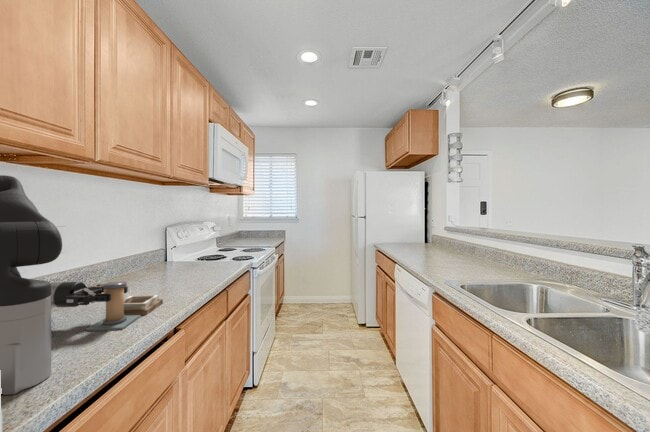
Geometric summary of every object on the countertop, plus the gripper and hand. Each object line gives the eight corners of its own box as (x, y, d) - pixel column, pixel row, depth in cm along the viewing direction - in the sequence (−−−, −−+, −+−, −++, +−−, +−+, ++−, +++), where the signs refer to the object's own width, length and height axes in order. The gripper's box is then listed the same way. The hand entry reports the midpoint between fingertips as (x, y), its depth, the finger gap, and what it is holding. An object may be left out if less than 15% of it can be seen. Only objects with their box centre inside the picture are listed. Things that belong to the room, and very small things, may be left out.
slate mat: (122, 329, 84) (123, 327, 84) (86, 330, 82) (86, 328, 82) (140, 316, 94) (140, 315, 94) (108, 317, 92) (108, 316, 92)
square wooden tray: (146, 314, 96) (146, 304, 96) (108, 315, 94) (108, 305, 94) (162, 303, 108) (162, 294, 107) (129, 304, 106) (129, 295, 106)
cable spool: (119, 325, 85) (119, 285, 85) (98, 325, 85) (98, 286, 84) (130, 317, 91) (130, 281, 91) (110, 318, 91) (110, 281, 90)
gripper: (41, 288, 79) (104, 287, 81) (79, 277, 93) (132, 276, 95) (41, 315, 79) (104, 313, 81) (79, 299, 93) (131, 298, 95)
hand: (119, 293), depth 88 cm, fingers open, 8 cm apart
